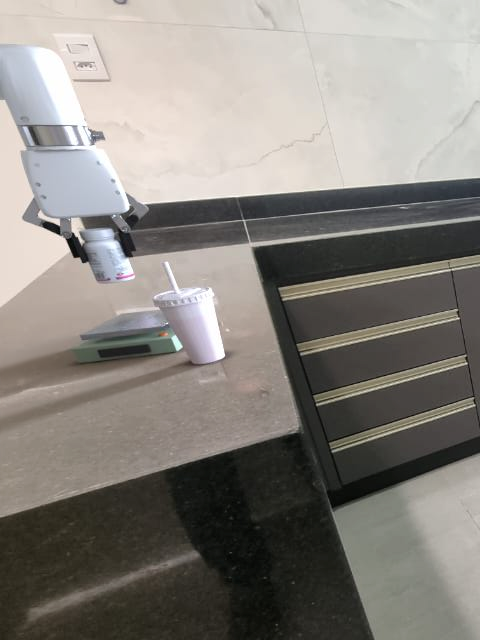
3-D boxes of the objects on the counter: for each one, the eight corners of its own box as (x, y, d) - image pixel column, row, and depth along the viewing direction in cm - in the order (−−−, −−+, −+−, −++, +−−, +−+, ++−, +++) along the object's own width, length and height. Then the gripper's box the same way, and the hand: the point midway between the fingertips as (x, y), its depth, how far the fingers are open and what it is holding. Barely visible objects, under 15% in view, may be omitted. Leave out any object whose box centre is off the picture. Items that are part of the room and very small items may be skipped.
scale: (76, 364, 74) (68, 348, 73) (127, 334, 85) (121, 320, 84) (176, 352, 77) (169, 336, 76) (213, 325, 88) (207, 311, 87)
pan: (81, 340, 75) (79, 335, 74) (123, 318, 83) (121, 313, 83) (164, 331, 77) (162, 326, 77) (196, 310, 86) (194, 306, 85)
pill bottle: (136, 275, 91) (116, 226, 88) (135, 280, 88) (115, 229, 85) (98, 280, 89) (76, 229, 85) (96, 285, 85) (73, 233, 82)
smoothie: (169, 365, 73) (124, 265, 67) (216, 348, 78) (179, 254, 72) (201, 370, 71) (158, 268, 65) (247, 352, 76) (211, 256, 71)
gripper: (131, 139, 88) (170, 248, 95) (-25, 140, 77) (33, 264, 84) (135, 138, 83) (176, 254, 90) (-30, 140, 72) (32, 272, 79)
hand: (107, 258), depth 87 cm, fingers closed on pill bottle, 4 cm apart
